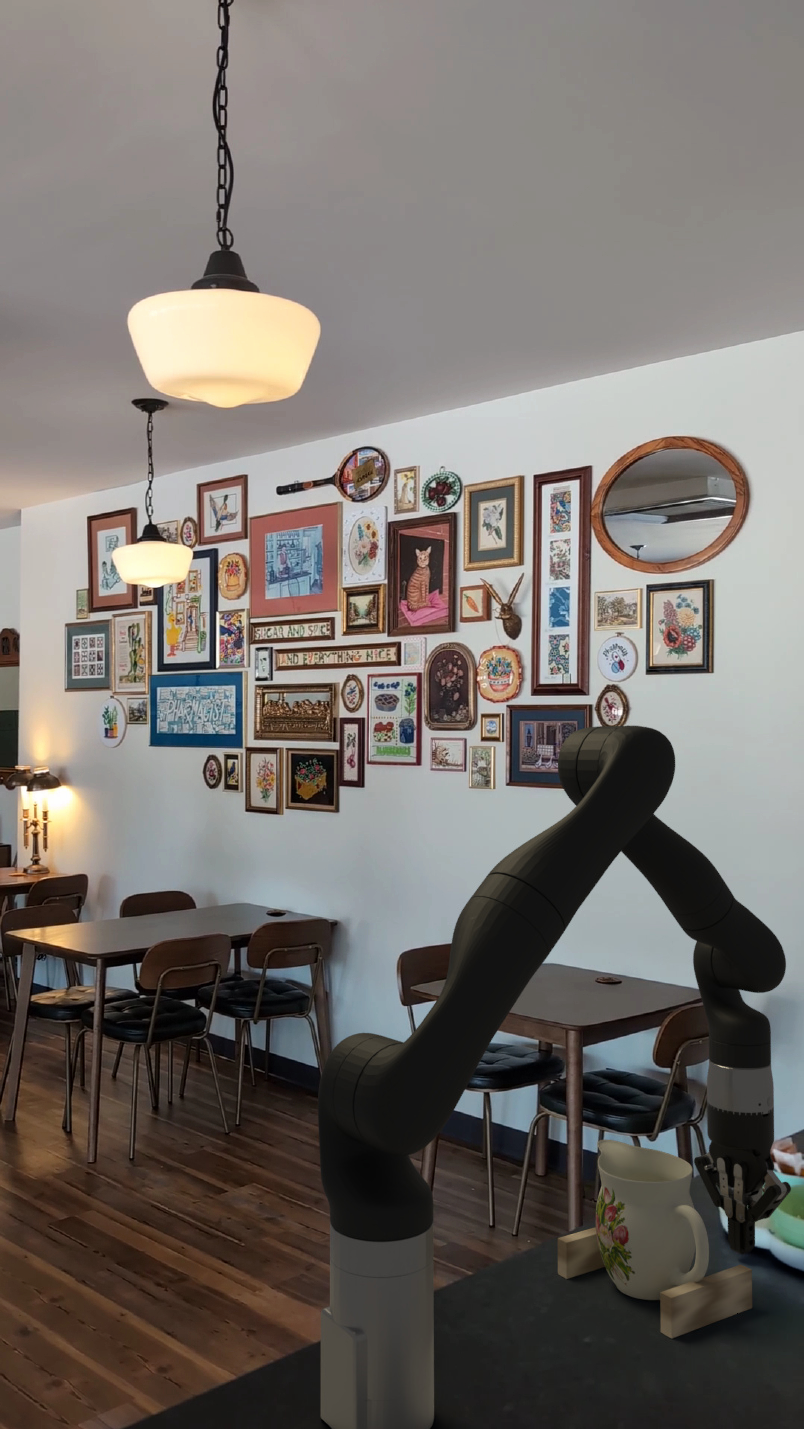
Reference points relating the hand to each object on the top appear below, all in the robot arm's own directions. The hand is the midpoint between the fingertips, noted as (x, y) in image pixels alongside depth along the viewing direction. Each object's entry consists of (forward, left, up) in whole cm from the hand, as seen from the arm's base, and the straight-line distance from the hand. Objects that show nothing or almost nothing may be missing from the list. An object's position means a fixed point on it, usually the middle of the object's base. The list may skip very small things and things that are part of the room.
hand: (741, 1250), depth 136 cm
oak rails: (-14, 0, -1) cm, 15 cm away
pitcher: (-14, 0, -1) cm, 15 cm away
